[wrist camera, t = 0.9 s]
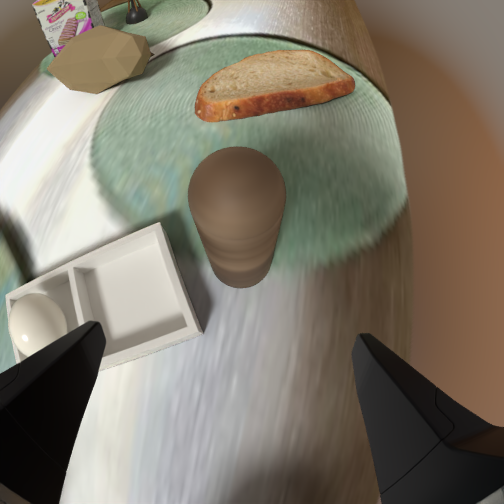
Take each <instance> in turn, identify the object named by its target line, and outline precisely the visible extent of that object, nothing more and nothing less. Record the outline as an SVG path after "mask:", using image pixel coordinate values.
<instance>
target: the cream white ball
mask: <svg viewBox="0 0 504 504" xmlns="http://www.w3.org/2000/svg"><path fill="white" fill-rule="evenodd" d="M8 327H9V333H10V336H11V339H12V341H13V343H14V344H15V346H16V347H17V348H18V349H19V351H20V352H22V353H23V354H24V355H26V356H27V357H29V356H31V355H32V354H34V353H36V352H37V351H39V350H40V349H42V348H44V347H45V346H47V345H49V344H50V343H52V342H54V341H55V340H57V339H59V338H60V337H62V336H64V335H65V334H67V323H66V318H65V316H64V313H63V311H62V309H61V308H60V306H59V305H58V304H57V303H56V302H55V301H54V300H53V299H51V298H50V297H48V296H46V295H44V294H40V293H30V294H26V295H24V296H22V297H20V298H19V299H18V300H17V301H16V302H15V303H14V305H13V306H12V308H11V311H10V314H9V319H8Z"/></svg>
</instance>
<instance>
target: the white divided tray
mask: <svg viewBox="0 0 504 504" xmlns="http://www.w3.org/2000/svg"><path fill="white" fill-rule="evenodd" d="M30 293H40V294H44V295H46V296H48V297H50V298H51V299H53V300H54V301H55V302H56V303H57V304H58V305H59V306H60V308H61V309H62V311H63V313H64V316H65V318H66V323H67V333H69V332H71V331H72V330H74V329H76V328H77V327H79V326H81V325H82V324H84V323H86V322H87V321H89V320H93V321H98V322H100V323H101V325H102V328H103V331H104V334H105V337H106V347H105V350H104V354H103V357H102V361H101V364H100V368H99V371H101V370H105V369H108V368H111V367H114V366H117V365H120V364H123V363H126V362H129V361H132V360H135V359H137V358H140V357H143V356H146V355H149V354H152V353H154V352H157V351H160V350H163V349H165V348H168V347H171V346H174V345H176V344H179V343H182V342H184V341H187V340H190V339H192V338H195V337H197V336H200V335H202V334H203V331H202V329H201V326H200V324H199V321H198V318H197V316H196V313H195V311H194V308H193V306H192V303H191V300H190V298H189V295H188V292H187V290H186V287H185V284H184V281H183V279H182V276H181V273H180V270H179V267H178V265H177V262H176V259H175V256H174V253H173V250H172V247H171V244H170V241H169V238H168V235H167V233H166V231H165V230H164V228H163V227H162V225H161V223H160V222H158V223H156V224H153V225H151V226H148V227H146V228H144V229H141V230H139V231H137V232H134V233H132V234H130V235H127V236H125V237H123V238H120V239H118V240H116V241H114V242H111V243H109V244H107V245H105V246H103V247H100V248H98V249H96V250H94V251H92V252H90V253H87V254H85V255H83V256H81V257H79V258H77V259H75V260H73V261H71V262H69V263H66V264H64V265H62V266H60V267H58V268H56V269H54V270H52V271H50V272H48V273H46V274H44V275H42V276H40V277H38V278H37V279H35V280H33V281H31V282H29V283H27V284H25V285H23V286H21V287H19V288H18V289H16V290H14V291H12V292H10V293H8V294H6V304H7V313H8V319H9V314H10V311H11V308H12V306H13V305H14V303H15V302H16V301H17V300H18V299H19V298H20V297H22V296H24V295H26V294H30ZM12 344H13V349H14V354H15V358H16V363H19V362H21V361H22V360H24V359H26V358H27V356H26V355H24V354H23V353H22V352H20V351H19V349H18V348H17V347H16V346H15V344H14V343H13V341H12Z"/></svg>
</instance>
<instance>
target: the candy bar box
mask: <svg viewBox="0 0 504 504" xmlns="http://www.w3.org/2000/svg"><path fill="white" fill-rule="evenodd" d="M32 6H33V8H34V11H35V13H36V16H37V18H38V21H39V23H40V25H41V28H42V30H43V32H44V35H45V37H46V39H47V41H48V44H49V45H50V48H51V50H52V52H53V55H54V57H56V56H57V55H58V54H59V52H60V51H61V50H62V49H63V47H64V46H65V45H66V44H67V43H68V42H69V40H70V39H71V38H73V37H75V36H77V35H79V34H81V33H83V32H85V31H88V30H90V29H92V28H94V27H97V26H99V25H102V26H105V25H104V22H103V19H102V16H101V12H100V9H99V5H98V2H97V0H37V1H36V2H35V3H33V5H32Z"/></svg>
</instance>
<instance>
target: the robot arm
mask: <svg viewBox="0 0 504 504" xmlns="http://www.w3.org/2000/svg"><path fill="white" fill-rule="evenodd" d="M105 347H106V337H105V334H104V331H103V328H102V325H101V323H100V322H98V321H93V320H89V321H87V322H86V323H84V324H82V325H81V326H79V327H77V328H76V329H74V330H72V331H71V332H69V333H67V334H65V335H64V336H62V337H60V338H59V339H57V340H55V341H54V342H52V343H50V344H49V345H47V346H45V347H44V348H42V349H40V350H39V351H37V352H36V353H34V354H32V355H31V356H29V357H27V358H26V359H24V360H22V361H21V362H19V363H17V364H16V365H14V366H13V367H11V368H9V369H8V370H6V371H4V372H2V373H1V374H0V504H59V501H60V497H61V493H62V488H63V484H64V480H65V476H66V471H67V468H68V464H69V461H70V457H71V454H72V450H73V447H74V443H75V440H76V437H77V434H78V431H79V427H80V424H81V421H82V418H83V415H84V412H85V409H86V407H87V404H88V401H89V398H90V395H91V393H92V390H93V387H94V385H95V382H96V379H97V376H98V372H99V368H100V364H101V361H102V357H103V354H104V350H105ZM352 362H353V368H354V375H355V382H356V389H357V394H358V399H359V403H360V406H361V410H362V414H363V418H364V422H365V426H366V431H367V435H368V439H369V443H370V448H371V452H372V457H373V461H374V466H375V471H376V476H377V481H378V486H379V491H380V494H381V495H380V497H381V502H382V504H504V427H499V426H494V425H492V424H490V423H488V422H486V421H485V420H483V419H481V418H480V417H479V416H477V415H476V414H474V413H472V412H471V411H469V410H468V409H466V408H465V407H463V406H462V405H460V404H459V403H457V402H456V401H454V400H453V399H452V398H451V397H449V396H448V395H447V394H445V393H444V392H443V391H442V390H440V389H439V388H438V387H436V386H435V385H434V384H433V383H432V382H430V381H429V380H428V379H427V378H425V377H424V376H423V375H422V374H420V373H419V372H418V371H416V370H415V369H414V368H413V367H412V366H410V365H409V364H408V363H407V362H405V361H404V360H403V359H402V358H400V357H399V356H398V355H397V354H395V353H394V352H393V351H391V350H390V349H389V348H388V347H386V346H385V345H384V344H383V343H381V342H380V341H379V340H378V339H376V338H375V337H374V336H373V335H371V334H370V333H360V334H358V335H357V337H356V341H355V344H354V347H353V350H352Z"/></svg>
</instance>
